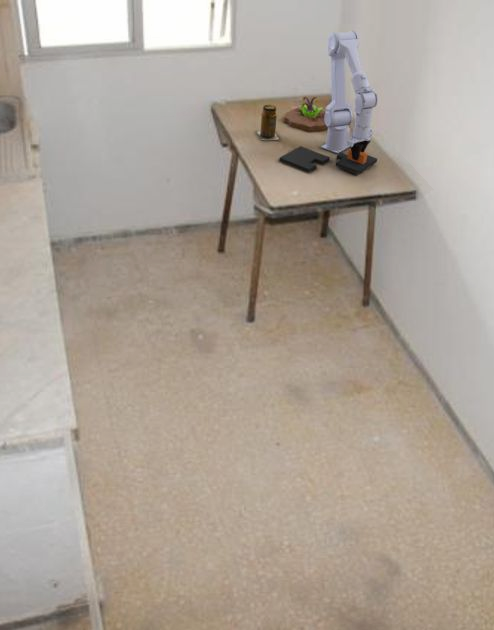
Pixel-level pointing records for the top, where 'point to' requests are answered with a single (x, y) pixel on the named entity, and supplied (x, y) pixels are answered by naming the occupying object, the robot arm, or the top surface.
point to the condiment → (268, 123)
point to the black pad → (304, 159)
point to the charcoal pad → (355, 162)
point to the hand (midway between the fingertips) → (356, 158)
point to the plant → (306, 117)
